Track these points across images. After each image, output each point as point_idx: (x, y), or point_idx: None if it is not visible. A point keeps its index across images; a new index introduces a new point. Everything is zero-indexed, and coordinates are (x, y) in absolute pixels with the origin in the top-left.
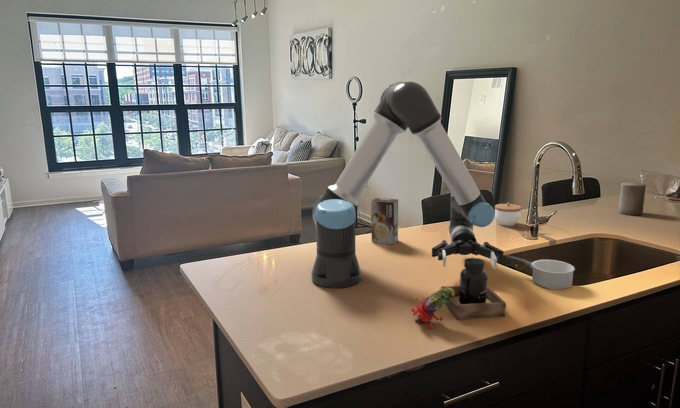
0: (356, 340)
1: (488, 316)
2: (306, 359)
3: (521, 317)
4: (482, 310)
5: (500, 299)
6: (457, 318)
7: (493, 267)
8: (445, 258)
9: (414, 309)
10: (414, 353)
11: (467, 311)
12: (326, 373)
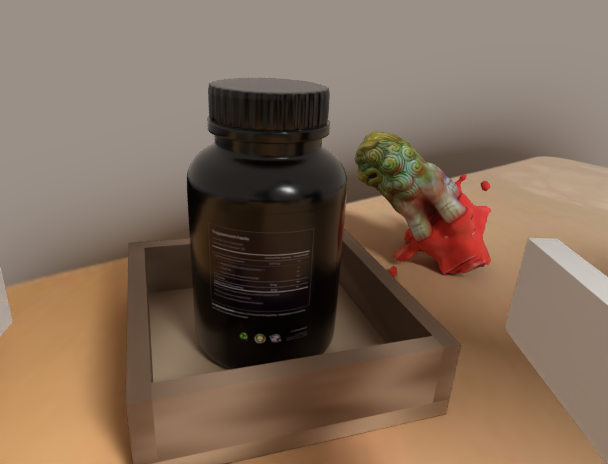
0: (560, 212)
1: None
2: (594, 184)
3: (63, 300)
4: None
5: (137, 260)
6: None
7: (4, 324)
8: (530, 253)
9: (477, 206)
10: None
11: None
12: (531, 171)
